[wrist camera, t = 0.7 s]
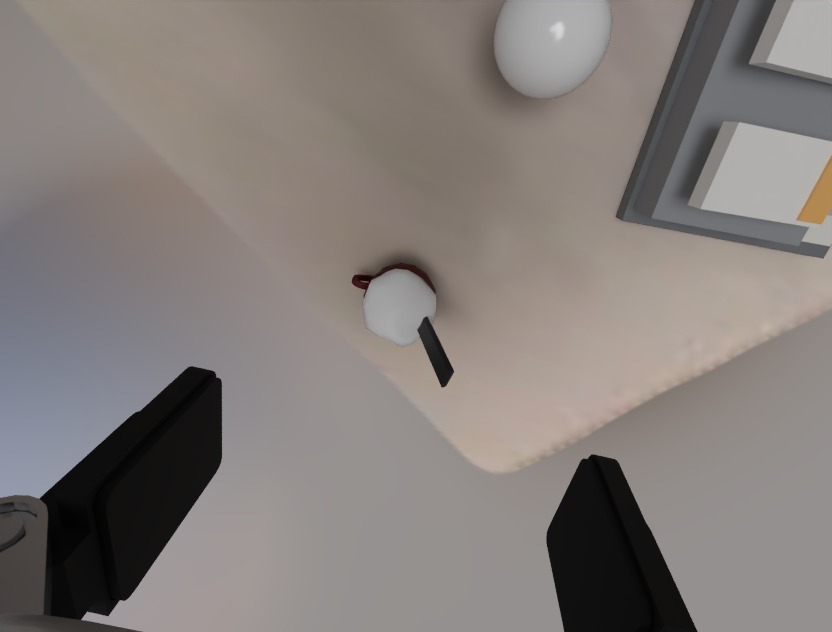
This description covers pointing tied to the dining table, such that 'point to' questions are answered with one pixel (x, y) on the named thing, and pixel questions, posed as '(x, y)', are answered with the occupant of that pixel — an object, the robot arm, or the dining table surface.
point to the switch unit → (703, 117)
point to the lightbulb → (551, 44)
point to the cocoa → (404, 311)
